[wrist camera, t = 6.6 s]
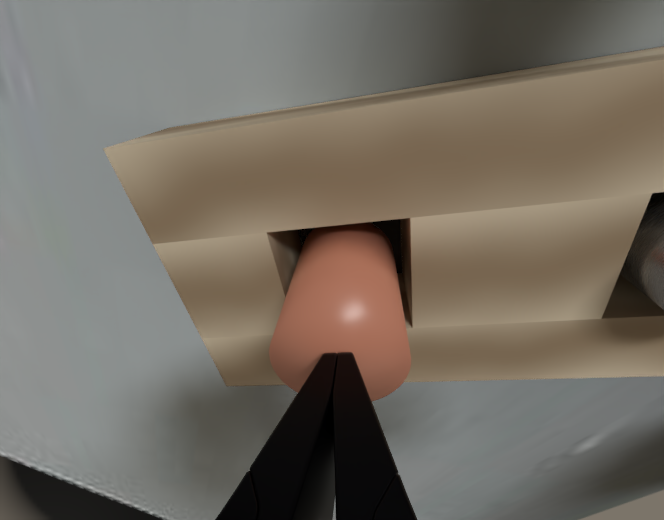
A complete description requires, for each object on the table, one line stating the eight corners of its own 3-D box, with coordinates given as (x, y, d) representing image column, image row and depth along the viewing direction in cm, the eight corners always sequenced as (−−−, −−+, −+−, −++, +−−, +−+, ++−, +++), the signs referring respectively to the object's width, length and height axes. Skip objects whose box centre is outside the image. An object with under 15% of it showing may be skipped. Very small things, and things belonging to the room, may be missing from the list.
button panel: (739, 305, 15) (844, 372, 12) (250, 330, 19) (226, 386, 16) (953, -2, 9) (1294, -42, 6) (169, 127, 13) (102, 148, 10)
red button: (395, 292, 14) (412, 403, 9) (310, 298, 15) (286, 405, 10) (391, 211, 12) (409, 303, 7) (292, 222, 13) (251, 312, 8)
